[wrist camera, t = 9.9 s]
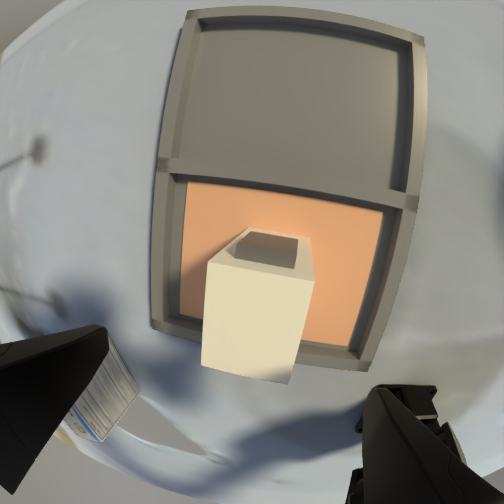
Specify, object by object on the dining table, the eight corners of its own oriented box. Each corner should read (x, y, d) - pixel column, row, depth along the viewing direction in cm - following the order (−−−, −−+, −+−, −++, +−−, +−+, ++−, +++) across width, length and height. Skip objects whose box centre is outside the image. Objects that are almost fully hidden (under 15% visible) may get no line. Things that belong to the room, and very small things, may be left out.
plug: (295, 307, 19) (287, 384, 11) (239, 297, 19) (200, 365, 12) (311, 228, 17) (318, 265, 9) (249, 218, 18) (209, 246, 10)
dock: (364, 360, 19) (367, 371, 18) (160, 320, 22) (152, 329, 20) (416, 44, 13) (423, 36, 11) (194, 19, 15) (187, 10, 14)
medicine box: (83, 332, 24) (30, 372, 16) (108, 328, 23) (51, 375, 15) (115, 389, 26) (75, 436, 18) (143, 391, 25) (102, 445, 17)
